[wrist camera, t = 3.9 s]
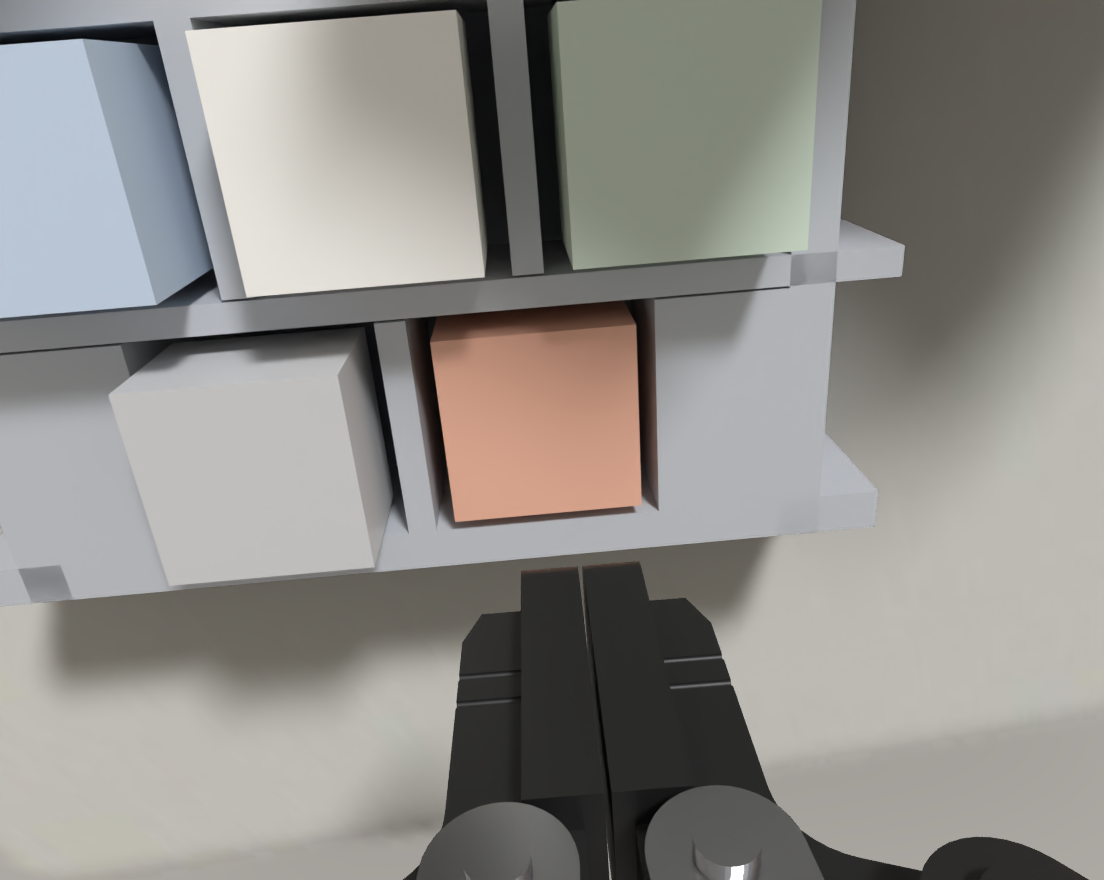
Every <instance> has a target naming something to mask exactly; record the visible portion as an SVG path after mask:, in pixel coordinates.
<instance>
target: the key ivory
mask: <svg viewBox="0 0 1104 880" xmlns="http://www.w3.org/2000/svg"><path fill="white" fill-rule="evenodd" d="M185 34H186V38H187V43H188V47H189V51H190V56H191V60H192V64H193V69H194V73H195V77H196V81H197V86H198V90H199V94H200V99H201V103H202V107H203V112H204V116H205V120H206V125H207V129H208V133H209V137H210V142H211V146H212V150H213V155H214V159H215V163H216V168H217V172H218V176H219V181H220V185H221V189H222V193H223V198H224V202H225V206H226V211H227V215H228V219H229V224H230V228H231V232H232V236H233V241H234V245H235V249H236V254H237V258H238V262H239V267H240V271H241V275H242V280H243V284H244V288H245V292H246V297H256V296H268V295H280V294H292V293H304V292H316V291H328V290H340V289H351V288H363V287H375V286H387V285H399V284H411V283H423V282H435V281H447V280H458V279H470V278H482V277H485V269H486V259H487V249H488V239H487V230H486V220H485V210H484V201H483V191H482V181H481V172H480V162H479V153H478V143H477V133H476V124H475V114H474V104H473V95H472V85H471V76H470V66H469V56H468V47H467V37H466V28H465V21H464V20H463V19H462V17H461V16H460V15H459V13H458V12H457V10H446V11H433V12H420V13H407V14H394V15H382V16H369V17H356V18H343V19H330V20H317V21H304V22H291V23H279V24H266V25H253V26H240V27H227V28H214V29H201V30H189V31H185Z"/></svg>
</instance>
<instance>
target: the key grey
mask: <svg viewBox="0 0 1104 880" xmlns="http://www.w3.org/2000/svg"><path fill="white" fill-rule="evenodd" d="M108 396H109V399H110V402H111V405H112V408H113V411H114V415H115V418H116V421H117V424H118V427H119V430H120V433H121V436H122V440H123V443H124V446H125V449H126V452H127V455H128V458H129V461H130V465H131V468H132V471H133V474H134V477H135V480H136V483H137V486H138V490H139V493H140V496H141V499H142V502H143V505H144V508H145V511H146V514H147V518H148V521H149V524H150V527H151V530H152V533H153V536H154V539H155V543H156V546H157V549H158V552H159V555H160V558H161V561H162V564H163V568H164V571H165V574H166V577H167V580H168V583H169V586H174V585H185V584H196V583H207V582H218V581H229V580H240V579H251V578H262V577H273V576H284V575H295V574H306V573H317V572H328V571H339V570H350V569H361V568H372V567H375V564H376V560H377V556H378V552H379V549H380V545H381V541H382V537H383V533H384V530H385V526H386V522H387V518H388V515H389V511H390V507H391V503H392V499H393V496H394V494H393V489H392V483H391V477H390V471H389V465H388V460H387V454H386V448H385V442H384V437H383V431H382V425H381V419H380V414H379V408H378V402H377V396H376V391H375V385H374V379H373V373H372V368H371V362H370V356H369V350H368V345H367V339H366V333H365V327H358V328H346V329H334V330H322V331H311V332H299V333H287V334H275V335H264V336H252V337H240V338H228V339H217V340H205V341H193V342H182V343H172V344H171V345H170V346H168V347H167V348H166V349H165V350H163V351H162V352H161V353H160V354H158V355H157V356H156V357H155V358H153V359H152V360H151V361H150V362H148V363H147V364H146V365H145V366H144V367H142V368H141V369H140V370H139V371H137V372H136V373H135V374H134V375H132V376H131V377H130V378H129V379H127V380H126V381H125V382H124V383H122V384H121V385H120V386H119V387H117V388H116V389H115V390H114V391H112V392H111V393H110V394H109V395H108Z"/></svg>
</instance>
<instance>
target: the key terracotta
mask: <svg viewBox="0 0 1104 880" xmlns="http://www.w3.org/2000/svg"><path fill="white" fill-rule="evenodd" d="M430 346H431V353H432V360H433V367H434V374H435V381H436V388H437V396H438V403H439V410H440V417H441V424H442V431H443V438H444V446H445V453H446V460H447V467H448V474H449V481H450V488H451V495H452V503H453V510H454V517H455V522H461V521H472V520H483V519H494V518H505V517H516V516H527V515H539V514H550V513H561V512H572V511H583V510H594V509H605V508H616V507H627V506H639V505H642V499H641V466H640V433H639V400H638V366H637V333H636V323H635V321H634V319H633V318H632V316H631V314H630V312H629V310H628V308H627V306H626V304H625V303H624V301H623V300H619V301H607V302H596V303H584V304H572V305H560V306H549V307H537V308H525V309H513V310H502V311H490V312H478V313H466V314H455V315H443V316H437V319H436V323H435V326H434V330H433V333H432V337H431V341H430Z"/></svg>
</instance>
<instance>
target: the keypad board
mask: <svg viewBox="0 0 1104 880" xmlns="http://www.w3.org/2000/svg"><path fill="white" fill-rule="evenodd" d="M562 1H575V0H0V45H8V44H21V43H34V42H47V41H60V40H73V39H90V40H101V41H113V42H124V43H135V44H146V45H157V46H159V47H160V51H161V55H162V59H163V63H164V67H165V71H166V75H167V80H168V84H169V88H170V92H171V96H172V100H173V104H174V108H175V112H176V116H177V120H178V124H179V128H180V132H181V137H182V141H183V145H184V149H185V153H186V157H187V161H188V165H189V169H190V173H191V177H192V181H193V185H194V189H195V194H196V198H197V202H198V206H199V210H200V214H201V218H202V222H203V226H204V230H205V234H206V238H207V242H208V246H209V251H210V255H211V259H212V263H213V267H214V268H212V269H211V270H209V271H207V272H206V273H204V274H203V275H201V276H200V277H198V278H197V279H195V280H194V281H192V282H191V283H189V284H188V285H186V286H185V287H183V288H182V289H180V290H179V291H177V292H176V293H174V294H172V295H171V296H169V297H168V298H166V299H165V300H163V301H162V302H160V303H159V304H157V305H150V306H138V307H126V308H114V309H102V310H90V311H78V312H66V313H54V314H43V315H31V316H19V317H7V318H0V526H1V528H2V531H3V533H2V534H1V535H0V606H10V605H21V604H32V603H43V602H54V601H65V600H76V599H87V598H98V597H109V596H120V595H131V594H142V593H153V592H164V591H175V590H186V589H197V588H208V587H219V586H230V585H241V584H252V583H263V582H274V581H285V580H296V579H307V578H318V577H329V576H340V575H351V574H362V573H373V572H384V571H395V570H406V569H417V568H428V567H439V566H450V565H461V564H472V563H483V562H494V561H505V560H516V559H527V558H538V557H549V556H560V555H571V554H582V553H593V552H604V551H615V550H626V549H637V548H648V547H659V546H670V545H681V544H692V543H703V542H714V541H725V540H736V539H747V538H758V537H769V536H780V535H791V534H802V533H813V532H824V531H835V530H846V529H857V528H868V527H875V521H876V512H877V502H878V493H879V491H878V490H877V489H876V488H875V487H874V486H873V485H872V483H871V482H870V481H869V480H868V479H867V478H866V477H865V476H864V475H863V473H862V472H861V471H860V470H859V469H858V468H857V467H856V466H855V465H854V463H853V462H852V461H851V460H850V459H849V458H848V457H847V456H846V455H845V453H844V452H843V451H842V450H841V449H840V448H839V447H838V446H837V445H836V444H835V442H834V441H833V440H832V439H831V438H830V437H829V436H828V435H827V434H826V432H825V422H826V408H827V394H828V381H829V367H830V353H831V340H832V326H833V313H834V299H835V285H836V282H843V281H855V280H866V279H878V278H890V277H902V269H903V260H904V250H905V245H903V244H900V243H898V242H896V241H893V240H891V239H888V238H886V237H884V236H881V235H879V234H877V233H874V232H872V231H869V230H867V229H865V228H862V227H860V226H858V225H855V224H853V223H851V222H848V221H846V220H843V219H841V218H840V217H841V204H842V190H843V176H844V163H845V149H846V135H847V122H848V108H849V95H850V81H851V67H852V54H853V40H854V26H855V13H856V0H822V12H821V29H820V46H819V64H818V81H817V98H816V115H815V133H814V150H813V167H812V184H811V202H810V219H809V236H808V250H803V251H791V252H779V253H767V254H755V255H744V256H732V257H720V258H708V259H696V260H684V261H672V262H660V263H648V264H637V265H625V266H613V267H601V268H589V269H577V270H573V268H572V265H571V262H570V259H569V256H568V254H567V251H566V248H565V245H564V242H563V240H562V233H561V218H560V203H559V188H558V173H557V158H556V143H555V128H554V113H553V98H552V83H551V68H550V52H549V37H548V22H547V15H548V14H549V12H550V11H551V9H552V8H553V7H554V5H555V4H556V2H562ZM446 10H457V12H458V13H459V15H460V16H461V17H462V19H463V20H464V21H465V28H466V37H467V47H468V56H469V66H470V76H471V85H472V95H473V104H474V114H475V124H476V133H477V143H478V153H479V162H480V172H481V181H482V191H483V201H484V210H485V220H486V230H487V239H488V249H487V259H486V269H485V277H482V278H470V279H458V280H447V281H435V282H423V283H411V284H399V285H387V286H375V287H363V288H351V289H340V290H328V291H316V292H304V293H292V294H280V295H268V296H256V297H246V292H245V288H244V284H243V280H242V275H241V271H240V267H239V262H238V258H237V254H236V249H235V245H234V241H233V236H232V232H231V228H230V224H229V219H228V215H227V211H226V206H225V202H224V198H223V193H222V189H221V185H220V181H219V176H218V172H217V168H216V163H215V159H214V155H213V150H212V146H211V142H210V137H209V133H208V129H207V125H206V120H205V116H204V112H203V107H202V103H201V99H200V94H199V90H198V86H197V81H196V77H195V73H194V69H193V64H192V60H191V56H190V51H189V47H188V43H187V38H186V34H185V31H189V30H201V29H214V28H227V27H240V26H253V25H266V24H279V23H291V22H304V21H317V20H330V19H343V18H356V17H369V16H382V15H394V14H407V13H420V12H433V11H446ZM619 300H623V301H624V303H625V304H626V306H627V308H628V310H629V312H630V314H631V316H632V318H633V319H634V321H635V323H636V333H637V366H638V400H639V433H640V466H641V499H642V505H639V506H627V507H616V508H605V509H594V510H583V511H572V512H561V513H550V514H539V515H527V516H516V517H505V518H494V519H483V520H472V521H461V522H455V517H454V510H453V503H452V495H451V488H450V481H449V474H448V467H447V460H446V453H445V446H444V438H443V431H442V424H441V417H440V410H439V403H438V396H437V388H436V381H435V374H434V367H433V360H432V353H431V346H430V341H431V337H432V333H433V330H434V326H435V323H436V319H437V316H443V315H455V314H466V313H478V312H490V311H502V310H513V309H525V308H537V307H549V306H560V305H572V304H584V303H596V302H607V301H619ZM358 327H365V333H366V339H367V345H368V350H369V356H370V362H371V368H372V373H373V379H374V385H375V391H376V396H377V402H378V408H379V414H380V419H381V425H382V431H383V437H384V442H385V448H386V454H387V460H388V465H389V471H390V477H391V483H392V489H393V494H394V496H393V499H392V503H391V507H390V511H389V515H388V518H387V522H386V526H385V530H384V533H383V537H382V541H381V545H380V549H379V552H378V556H377V560H376V564H375V567H372V568H361V569H350V570H339V571H328V572H317V573H306V574H295V575H284V576H273V577H262V578H251V579H240V580H229V581H218V582H207V583H196V584H185V585H174V586H169V583H168V580H167V577H166V574H165V571H164V568H163V564H162V561H161V558H160V555H159V552H158V549H157V546H156V543H155V539H154V536H153V533H152V530H151V527H150V524H149V521H148V518H147V514H146V511H145V508H144V505H143V502H142V499H141V496H140V493H139V490H138V486H137V483H136V480H135V477H134V474H133V471H132V468H131V465H130V461H129V458H128V455H127V452H126V449H125V446H124V443H123V440H122V436H121V433H120V430H119V427H118V424H117V421H116V418H115V415H114V411H113V408H112V405H111V402H110V399H109V396H108V395H109V394H110V393H111V392H112V391H114V390H115V389H116V388H117V387H119V386H120V385H121V384H122V383H124V382H125V381H126V380H127V379H129V378H130V377H131V376H132V375H134V374H135V373H136V372H137V371H139V370H140V369H141V368H142V367H144V366H145V365H146V364H147V363H148V362H150V361H151V360H152V359H153V358H155V357H156V356H157V355H158V354H160V353H161V352H162V351H163V350H165V349H166V348H167V347H168V346H170V345H171V344H172V343H182V342H193V341H205V340H217V339H228V338H240V337H252V336H264V335H275V334H287V333H299V332H311V331H322V330H334V329H346V328H358Z"/></svg>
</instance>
